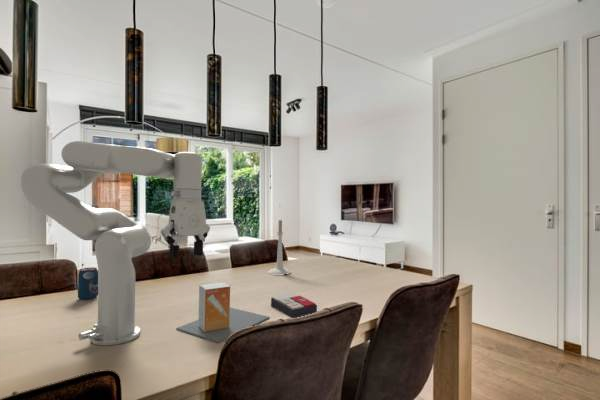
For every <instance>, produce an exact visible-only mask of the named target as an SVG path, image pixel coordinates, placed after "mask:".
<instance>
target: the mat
mask: <svg viewBox="0 0 600 400" xmlns="http://www.w3.org/2000/svg"><path fill="white" fill-rule="evenodd" d="M269 319H270V316H267V315H263V314H259V313H254V312H250V311H246V310H244V309H243V310H242V309H238V308H234V307H230V318H229V328H223V329H218V330H213V331H208V332H204V331H203V330H202V329H201V328H200V327H199V319H196V320H193V321H191V322H189V323H186V324H184V325H180V326H179V327H176V328H175V330H176V331H179V332H183V333H185V334H188V335H192V336H195V337H198V338H201V339H205V340H207V341H210V342H214V343H217V344H220V343H222V342H224V341H227V340H228V339H229V338H228V337H229V336H230V335H231V334H233V333H235V332H236V331H238V330H241V329H243V328H246V327H249V326H253V325H255V326H256V324H257V325H259V324H260V323H263V322H265V321H267V320H269ZM253 327H254V326H253ZM227 338H228V339H227Z"/></svg>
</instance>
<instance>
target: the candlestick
mask: <svg viewBox="0 0 600 400" xmlns="http://www.w3.org/2000/svg"><path fill="white" fill-rule="evenodd" d="M276 233H277V237H278V241H277V251H276V253H277V254H276V257H277V258H276V267H274V268H272V269H270V270H268V272H267V273H270V274H287V273H290V272H291V270H290V269H287V268H285V267H284V264H283V263H284V262H283V259H284V258H283V238H282V237H283V234H284V231H283V220H282V219H280V220H278V231H276ZM291 273H292V272H291ZM270 274H269V275H270Z"/></svg>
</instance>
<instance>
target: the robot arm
mask: <svg viewBox="0 0 600 400" xmlns="http://www.w3.org/2000/svg"><path fill="white" fill-rule="evenodd" d="M60 155H61V158H62V160H63V162H64V163H65V164H66V165H63V164H53V163H36V164H33V165H30V166H28V167H26V168H25V169H24V170H23V171H22V173H21V176H20V185H21V191H22V193H23V195H24V197H25V198H26V200H27V201H28V202H29V203H30V204H31V205H32V206H33V207H34V208H35V209H37V210H38V211H39V212H41V213H43V214H44V215H46V216H47V217H49V218H51V219H52V220H54V221H55V222H56V223H58V224H59V225H60V226H62V227H63V228H65V229H66V230H67V231H69V232H70V233H72V234H73V235H74V236H76V237H77V238H79V239H81V240H84V241H95V244H94V254H95V258H96V262H97V271H98V296H97V299H98V300H97V323H95V324H93V327H92V328H90V330H85V331H83V332H82V331H81V332H79V333H78V340H79V341H84V340H86V339H88V340H90V341H91V343H93V345H98V346H114V345H119V344H120V345H121V344H124V343H128V342H130V341H133V340H134V339H136V338H138V337H139V336H140V335H141V327H139V326H137V325H135V323H136V320H135V319H136V316H135V315H136V269H135V266H134V264H133V260H132V259H133V258H136V257H139V256H141V255H144V254H146V253H147V252H148V251H149V250H150V248H151V245H152V237H151V235H150V233H149V231H148V230H147V229H146V228H144V227H143V226H142V225H140V224H139V223H138V222H136V221H135V220H133V219H131V218H130V217H129V216H127V215H125V214H124V213H123V212H121V211H119V210H117V209H115V208H109V207H105V208H104V207H102V208H101V207H99V208H97V207H92V206H90V205H88V204H86V203H85V202H83V201H82V200H80V199H79V198H78V197H76V196H74V195H72V194H71V193H73V194H74V193H78V192H80V191H82V190H83V189H85V188H87V187H88V186H89V185H90V184H92V183H93V182H94V181H96V180H97V179H99V178H100V177H101V176H102V175H103V174H112V175H119V174H127V175H136V176H143V177H151V178H159V179H166V180H167V179H168V180H170V179H173V190H172V191H171V192H170V195H171V197H173V200H171V204H170V209H169V213H168V214H169V216H168V224H167V225H166V226H165V227H163V228H162V229H161V230H160V234H161V236H162V237H163V239H164V240H165V242H166V245H168V246H169V259H170V260H173V261H178V260H180V245H179V242H180V240H181V238H182V237H185V238H186V237H193V238H194V240H195V241H194V243H193V255H194V256H198V257H199V256H200V257H202V256H204V255H203V254H204V243H205V241H206V238H207V237H208V235H209V232H210V230H211V226H209V224H207V217H206V216H207V215H206V209H205V203H204V200H202V176H203V175H202V165H203V163H202V162H203V160H202V158H203V157H202V156H201V154H199V153H197V152H192V151H179V152H177V153H174V154H172V153H169V152H166V151H162V150H158V149H154V148H147V147H140V146H132V145H131V146H129V145H120V144H113V143H111V144H110V143H101V142H91V141H83V140H74V141H70V142H69V143H66V144H65V145H64V146H63V148H62V149H61V154H60Z"/></svg>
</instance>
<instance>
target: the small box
mask: <svg viewBox="0 0 600 400" xmlns="http://www.w3.org/2000/svg"><path fill="white" fill-rule="evenodd" d="M198 286H199V287H198V288H199V289H198V320H199V327H200V328H201V329H202V330H203V331H204V332H208V331H213V330H218V329H223V328H229V318H230V308H231V285H228V284H227V283H225V282H214V283H209V284H200V285H198Z"/></svg>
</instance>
